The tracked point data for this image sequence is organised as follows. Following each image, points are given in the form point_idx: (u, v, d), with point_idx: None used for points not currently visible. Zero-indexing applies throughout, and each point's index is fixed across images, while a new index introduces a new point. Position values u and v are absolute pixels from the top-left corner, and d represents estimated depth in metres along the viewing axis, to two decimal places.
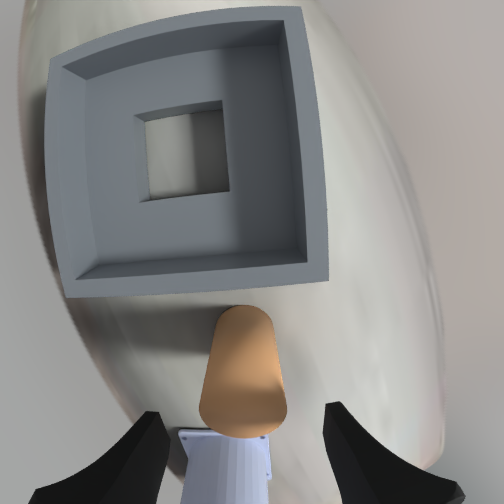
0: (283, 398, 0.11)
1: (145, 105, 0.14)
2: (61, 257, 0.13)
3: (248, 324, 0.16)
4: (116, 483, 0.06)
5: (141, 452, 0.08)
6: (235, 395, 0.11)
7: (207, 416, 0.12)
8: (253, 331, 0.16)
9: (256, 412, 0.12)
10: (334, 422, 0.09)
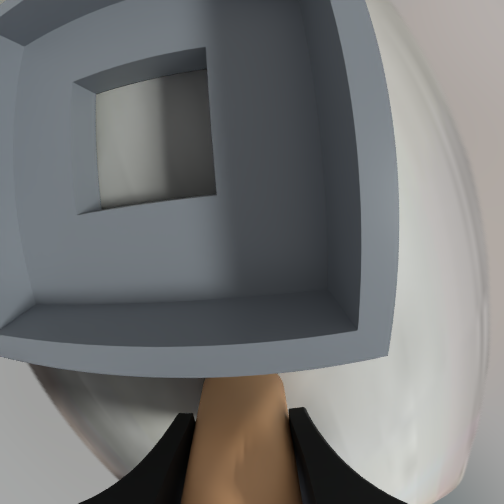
0: None
1: (90, 66, 0.07)
2: None
3: (249, 401, 0.10)
4: (161, 491, 0.06)
5: (180, 456, 0.08)
6: None
7: None
8: (256, 414, 0.09)
9: None
10: (293, 428, 0.09)
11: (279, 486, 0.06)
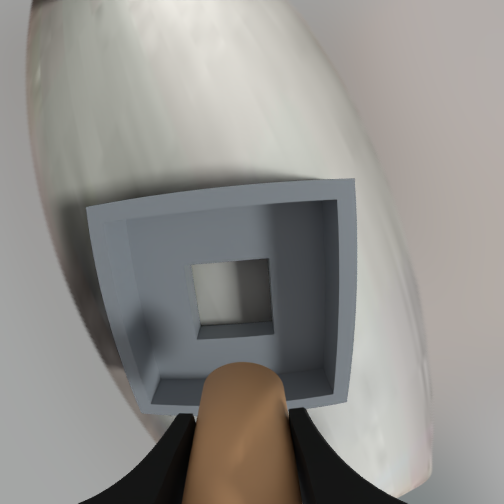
0: None
1: (195, 257, 0.17)
2: (136, 389, 0.16)
3: (248, 402, 0.10)
4: (161, 491, 0.06)
5: (180, 456, 0.08)
6: None
7: None
8: (256, 415, 0.09)
9: None
10: (293, 428, 0.09)
11: (279, 488, 0.06)
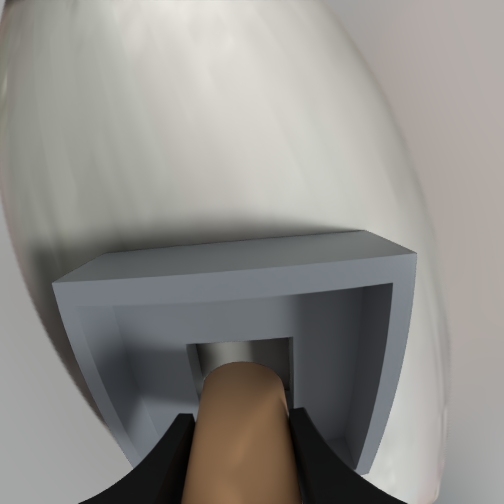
0: None
1: (199, 335, 0.13)
2: None
3: (248, 402, 0.10)
4: (161, 491, 0.06)
5: (180, 456, 0.08)
6: None
7: None
8: (256, 415, 0.09)
9: None
10: (293, 428, 0.09)
11: (278, 487, 0.06)
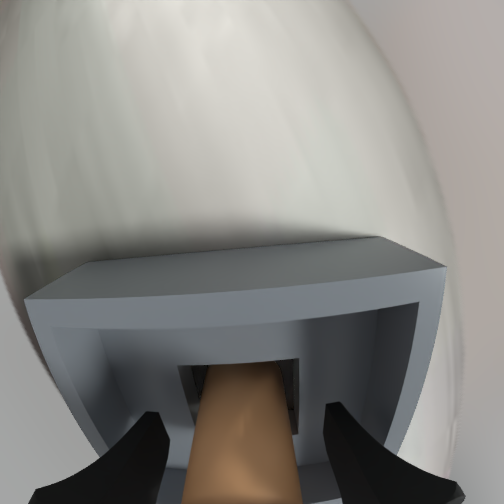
0: (300, 503, 0.06)
1: (192, 356, 0.11)
2: None
3: (248, 385, 0.11)
4: (116, 483, 0.06)
5: (141, 452, 0.08)
6: None
7: None
8: (255, 397, 0.10)
9: None
10: (334, 422, 0.09)
11: (277, 462, 0.07)
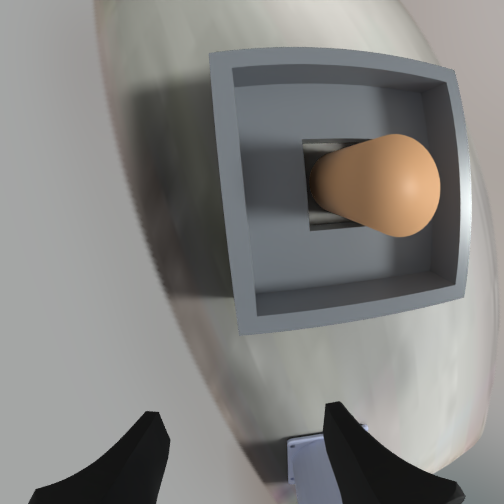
0: (436, 167, 0.09)
1: (314, 131, 0.15)
2: (241, 293, 0.14)
3: None
4: (116, 483, 0.06)
5: (141, 452, 0.08)
6: (395, 155, 0.09)
7: (364, 192, 0.10)
8: None
9: (414, 186, 0.10)
10: (334, 422, 0.09)
11: None
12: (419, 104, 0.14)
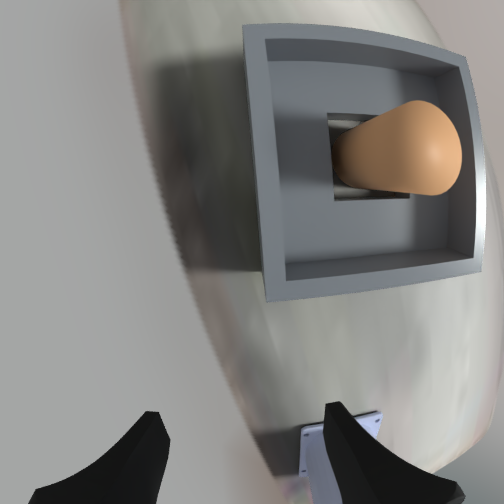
0: (457, 134, 0.09)
1: (338, 106, 0.14)
2: (270, 256, 0.13)
3: None
4: (116, 483, 0.06)
5: (141, 452, 0.08)
6: (422, 119, 0.09)
7: (396, 150, 0.09)
8: None
9: (440, 149, 0.09)
10: (334, 422, 0.09)
11: None
12: (433, 88, 0.14)
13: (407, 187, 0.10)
